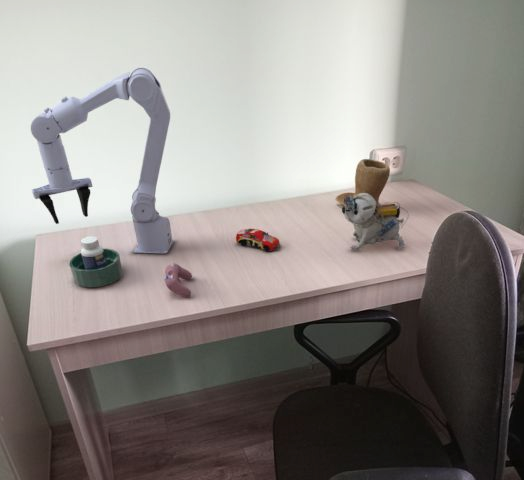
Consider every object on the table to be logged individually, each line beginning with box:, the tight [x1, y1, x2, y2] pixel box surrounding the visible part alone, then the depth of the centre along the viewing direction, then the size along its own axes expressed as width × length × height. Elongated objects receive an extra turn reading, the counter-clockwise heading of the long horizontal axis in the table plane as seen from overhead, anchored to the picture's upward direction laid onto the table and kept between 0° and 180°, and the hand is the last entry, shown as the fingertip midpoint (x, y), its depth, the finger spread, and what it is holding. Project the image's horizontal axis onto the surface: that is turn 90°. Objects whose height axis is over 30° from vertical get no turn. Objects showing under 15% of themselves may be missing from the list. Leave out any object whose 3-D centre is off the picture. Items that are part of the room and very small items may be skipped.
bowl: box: [68, 248, 124, 288], centre depth 125 cm, size 12×12×5 cm
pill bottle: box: [80, 236, 107, 270], centre depth 123 cm, size 5×5×10 cm
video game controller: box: [164, 262, 193, 298], centre depth 119 cm, size 10×5×7 cm, turn 5°
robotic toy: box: [341, 193, 410, 251], centre depth 131 cm, size 13×17×15 cm
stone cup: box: [335, 158, 391, 213], centre depth 152 cm, size 15×12×15 cm
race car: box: [235, 228, 281, 253], centre depth 137 cm, size 13×5×4 cm, turn 57°
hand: (71, 219), depth 131 cm, fingers open, 7 cm apart
